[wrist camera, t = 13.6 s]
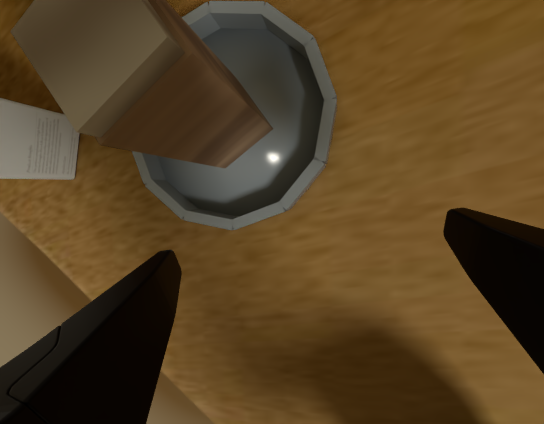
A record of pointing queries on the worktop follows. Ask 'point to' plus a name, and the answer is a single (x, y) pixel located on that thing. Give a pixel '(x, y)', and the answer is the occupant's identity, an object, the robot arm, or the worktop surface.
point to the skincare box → (36, 143)
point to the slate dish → (274, 106)
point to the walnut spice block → (139, 79)
